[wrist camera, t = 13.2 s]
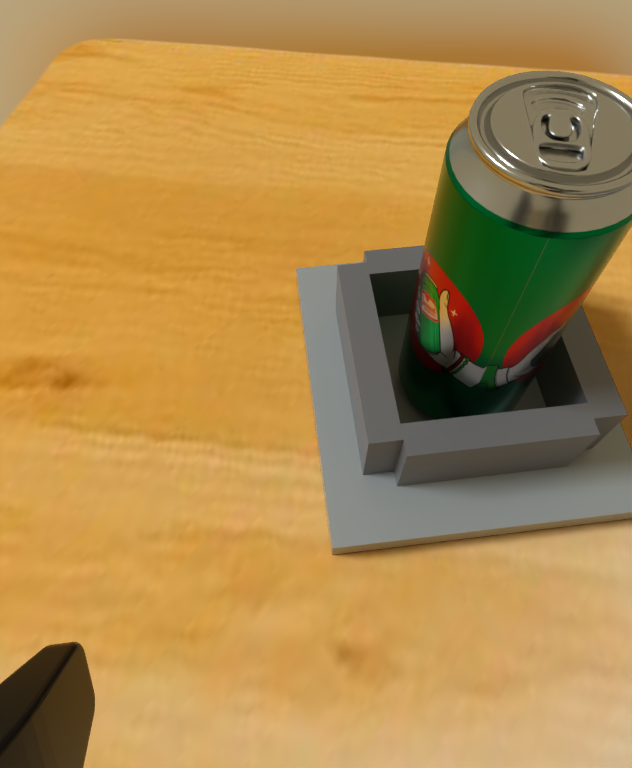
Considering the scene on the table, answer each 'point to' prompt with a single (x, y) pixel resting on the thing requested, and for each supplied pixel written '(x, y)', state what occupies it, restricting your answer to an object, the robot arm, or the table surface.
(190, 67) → the table surface
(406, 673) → the table surface
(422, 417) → the socket
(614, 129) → the soda can
